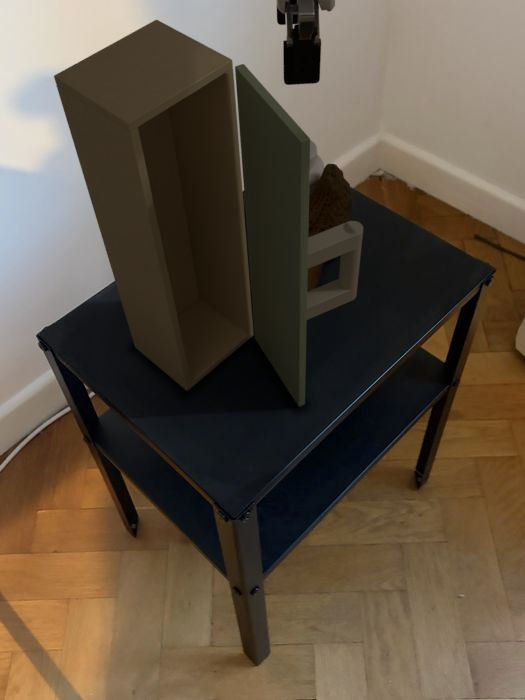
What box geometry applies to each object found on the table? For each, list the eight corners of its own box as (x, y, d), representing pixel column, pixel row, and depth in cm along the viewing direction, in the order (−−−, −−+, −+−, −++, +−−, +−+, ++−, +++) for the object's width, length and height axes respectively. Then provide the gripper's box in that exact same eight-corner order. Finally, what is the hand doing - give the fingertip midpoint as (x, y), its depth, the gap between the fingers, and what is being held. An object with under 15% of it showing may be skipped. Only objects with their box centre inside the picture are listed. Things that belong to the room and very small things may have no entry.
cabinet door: (309, 315, 77) (317, 39, 51) (356, 380, 72) (390, 109, 46) (254, 338, 75) (234, 66, 50) (298, 407, 70) (300, 142, 45)
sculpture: (372, 172, 73) (260, 251, 68) (387, 256, 79) (286, 333, 74) (318, 155, 78) (210, 227, 73) (336, 235, 85) (239, 305, 80)
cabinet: (253, 335, 75) (232, 59, 50) (187, 391, 72) (127, 123, 46) (201, 295, 79) (156, 18, 54) (134, 347, 75) (53, 75, 50)
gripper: (364, -111, 49) (348, 105, 63) (336, -204, 59) (327, 0, 73) (254, -105, 49) (261, 110, 63) (245, -199, 59) (253, 4, 73)
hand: (297, 51), depth 68 cm, fingers open, 9 cm apart
